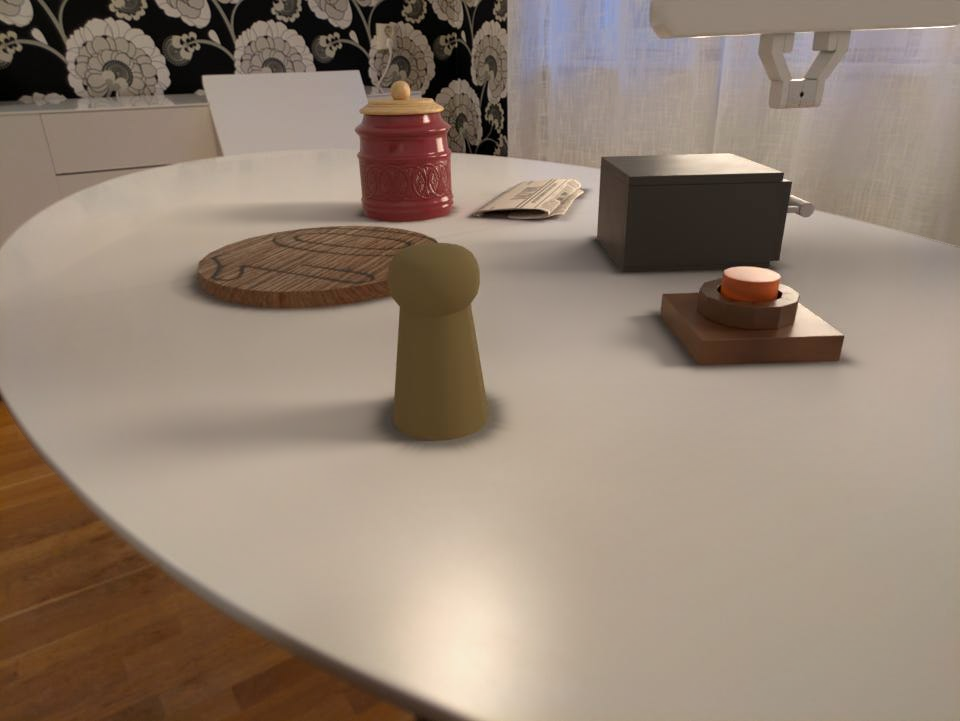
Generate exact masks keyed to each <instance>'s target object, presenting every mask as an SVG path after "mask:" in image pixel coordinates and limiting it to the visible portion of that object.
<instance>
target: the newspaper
mask: <svg viewBox="0 0 960 721" xmlns="http://www.w3.org/2000/svg"><path fill="white" fill-rule="evenodd" d="M580 188H581V183H580V182H579V181H578V180H576V179H575V178H550V179H549V178H548V179H538V180H537V179H536V180H526V181H525V180H524V181H520V182H519V183H516V184H515V185H514V186H512V187H511V188H508V190H506V191H504V192H503V193H502V194H500V195H499V196H497V197H496V198H494V199H493V200H491V201H490V202H489V203H487V204H486V205H484V206H483V207H481V208H479V209H478V210H476V211H475V212H474V213H473V217H474V218H475V217H483V216H484V215H486V214H487V213H489V212H493V211H494V212H495V211H510V213H509V214H508V215H507V219H516V220H517V219H518V220H535V219H546V218H549V217H552V216H558V215H562V216H563V215H565V213H566V212H567V211H568V209H570V207H571V205H572V204H573V202H574V201H575V199H577V198H578V197H579V196H581V195H582V194H583V193H585V191H584V190H582V189H580Z"/></svg>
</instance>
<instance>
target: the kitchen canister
mask: <svg viewBox="0 0 960 721" xmlns="http://www.w3.org/2000/svg"><path fill="white" fill-rule="evenodd" d="M390 95H391V98H375V99H370V100H369V101H368V103H367V104H365V105H364V106H363V107H361V108H360V109H359V110H358V111H359V113H360V114H361V115H363V117H362V119H361V123H359V124H357V126H356V127H355V128H354V132H355V134H357V135H358V137H359V152H357V153H356V158H357V159H358V166H359V177H360V187H361V188H360V189H361V198H360V201H361V208H362V210H363V213H364V216H365V217H366V218H368V219H371V220H375V221H382V222H394V223H395V222H396V223H397V222H398V223H400V222H401V223H404V222H406V223H407V222H421V221H429V220H435V219H438V218H443V217H445V216H448V215H449V214H451V213H452V212H453V205H454V194H453V190H452V189H453V188H452V186H453V185H452V165H451V163H452V162H451V155H452V154H453V152H452V150H451V149H450V148H449V144H448V143H449V142H448V133H449V131H450V130H451V127H452V126H451V125H450V123H448V122H446V121H445V120H444V119H443V116H442V115H441V112H443V111H444V110H445V108H444V107H443V106H442V105H440V104H439V103H437V102H436V101H435V100H434V99H433V98H431V97H430V98H429V97H411V88H410V85H409V83H408V82H406V81H403V80H397V81H395V82H393V83H392V84H391V87H390Z"/></svg>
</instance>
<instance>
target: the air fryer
mask: <svg viewBox="0 0 960 721" xmlns="http://www.w3.org/2000/svg"><path fill="white" fill-rule="evenodd" d="M599 170H600V173H599V190H598V191H599V193H598V208H597V209H598V212H597V230H596V234H597V235H596V239H597V241H598V242H599V244H600V245H601V246H602V248H603V249H604V250H605V251H606V253H607V254H608V256H609V257H610V258H611V259H612V260H613V262H614V263H615V265H616V266H617V267H618V268H619V270H620V271H621V272H622V273H623V274H629V273H663V272H664V273H665V272H687V271H688V272H696V271H698V272H699V271H724V270H726V269H728V268H732V267H744V266H745V267H758V268H764V269H769V268H770V263H771V261H770V258H771V252H772V246H773V240H774V234H775V227H776V221H777V215H778V209H779V203H780V197H781V191H782V185H783V178H784V177H785V172H784V171H780V170H778V169H775V168H772V167H769V166H768V165H764V164H761V163H759V162H756V161H753V160H750V159H747V158H745V157H743V156H742V157H741V156H739V155H737V154H733V153H728V152H727V153H725V152H724V153H688V154H657V155H655V154H653V155H652V154H650V155H618V156H617V155H616V156H601V157H600V169H599Z"/></svg>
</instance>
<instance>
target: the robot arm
mask: <svg viewBox="0 0 960 721" xmlns="http://www.w3.org/2000/svg"><path fill="white" fill-rule="evenodd" d="M649 3H650V4H649V12H648V13H649V14H648V16H649V18H648V19H649V20H648V21H649V25H650V27H651V29H652V30H653V32H654V33H655V35H656V36H657V37H658V38H659V39H663V40H666V39H668V40H669V39H671V40H672V39H693V38H711V37H713V38H714V37H734V36H735V37H736V36H739V37H740V36H759V43H758V52H757V55H758V57H759V60H760V62H761V63H762V64H761V65H763V69H764V70H765V73H766V76H767V77H768V80H769V81H770V85H769V86H770V88H769V94H768V107H769V108H770V109H775V110H783V109H784V110H785V109H803V108H804V109H805V108H808V109H809V108H819V107H820V106H821V104H822V102H823V96H824V90H825V85H826V80H828V79H829V78H830V76H831V75H832V73H834V71H835V69H836V68H837V67H838V65H839V64H840V62H841V61H842V59H843V58H844V57H845V55H846V54H847V52H848V51H849V45H850V41H851V40H850V39H851V34H852V32H856V31H857V32H858V31H881V30H882V31H883V30H909V29H910V30H911V29H933V28H934V29H935V28H950V27H957V26H959V25H960V0H650V1H649ZM806 33H807V34H809V33H813V40H812V47H811V50H812V51H813V52H818V54H817V55H816V57H815V59H814V60H813V62H812V64H811V65H810V66H809V68H808V70H807V71H806V73H805V75H804V76H803V78H795V79H794V78H792V75H791V72H790V69H789V67H788V63H787V61H786V58H785V56H784V54H788V53H792V51H793V47H794V41H795V36H796V34H806Z"/></svg>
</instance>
